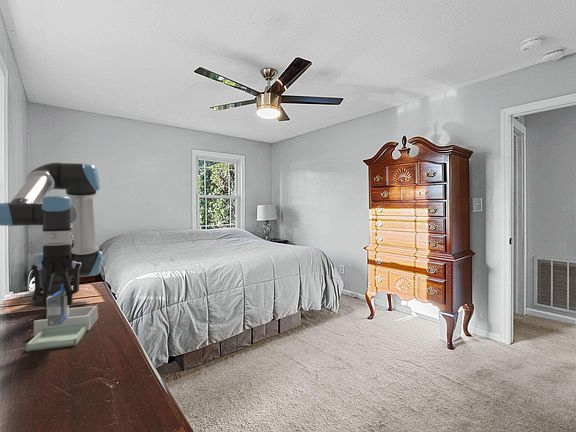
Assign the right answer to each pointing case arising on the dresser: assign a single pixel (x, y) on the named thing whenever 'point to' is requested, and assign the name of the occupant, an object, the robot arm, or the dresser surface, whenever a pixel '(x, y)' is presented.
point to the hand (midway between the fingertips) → (58, 315)
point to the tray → (56, 338)
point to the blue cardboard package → (56, 308)
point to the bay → (71, 319)
